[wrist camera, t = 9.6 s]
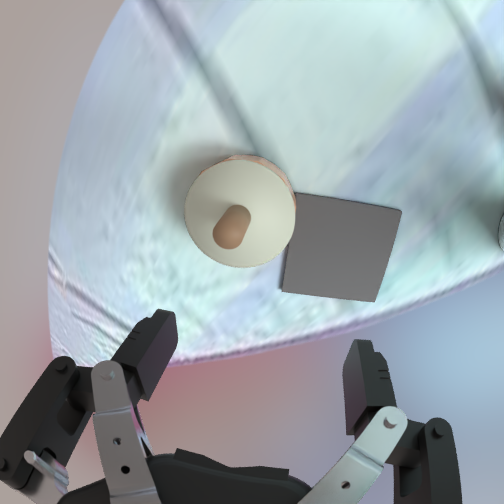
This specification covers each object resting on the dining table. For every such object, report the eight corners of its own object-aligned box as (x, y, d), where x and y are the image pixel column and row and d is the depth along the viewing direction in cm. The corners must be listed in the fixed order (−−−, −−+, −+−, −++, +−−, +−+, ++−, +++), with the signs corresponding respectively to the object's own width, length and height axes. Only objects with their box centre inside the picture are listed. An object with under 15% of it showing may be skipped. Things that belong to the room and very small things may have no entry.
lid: (301, 166, 27) (304, 175, 22) (287, 269, 32) (286, 299, 27) (187, 156, 28) (164, 164, 23) (188, 256, 33) (169, 282, 28)
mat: (400, 210, 32) (401, 211, 31) (373, 300, 38) (374, 302, 38) (296, 192, 33) (296, 193, 33) (281, 289, 39) (281, 291, 39)
